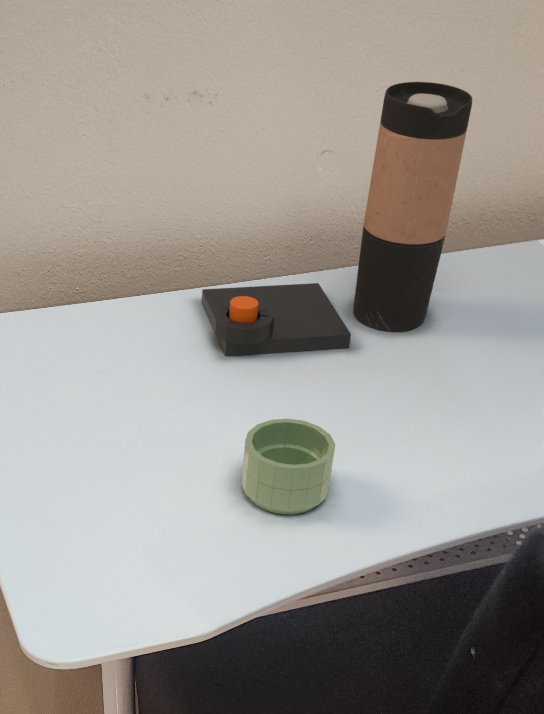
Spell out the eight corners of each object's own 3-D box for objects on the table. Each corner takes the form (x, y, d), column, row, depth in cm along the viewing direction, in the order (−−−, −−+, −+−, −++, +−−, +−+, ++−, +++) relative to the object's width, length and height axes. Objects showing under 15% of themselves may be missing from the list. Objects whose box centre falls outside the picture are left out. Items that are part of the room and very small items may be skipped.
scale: (316, 296, 102) (320, 267, 100) (351, 352, 93) (356, 321, 91) (194, 302, 100) (195, 273, 98) (218, 360, 91) (220, 330, 89)
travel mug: (368, 291, 103) (404, 75, 89) (438, 310, 100) (486, 91, 86) (337, 319, 98) (369, 96, 84) (410, 340, 95) (456, 114, 81)
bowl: (313, 464, 80) (320, 415, 77) (337, 514, 75) (346, 464, 72) (233, 471, 79) (237, 422, 76) (252, 521, 74) (257, 471, 71)
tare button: (253, 310, 93) (255, 294, 92) (260, 323, 91) (261, 307, 90) (226, 312, 93) (227, 296, 92) (232, 325, 91) (233, 309, 90)
